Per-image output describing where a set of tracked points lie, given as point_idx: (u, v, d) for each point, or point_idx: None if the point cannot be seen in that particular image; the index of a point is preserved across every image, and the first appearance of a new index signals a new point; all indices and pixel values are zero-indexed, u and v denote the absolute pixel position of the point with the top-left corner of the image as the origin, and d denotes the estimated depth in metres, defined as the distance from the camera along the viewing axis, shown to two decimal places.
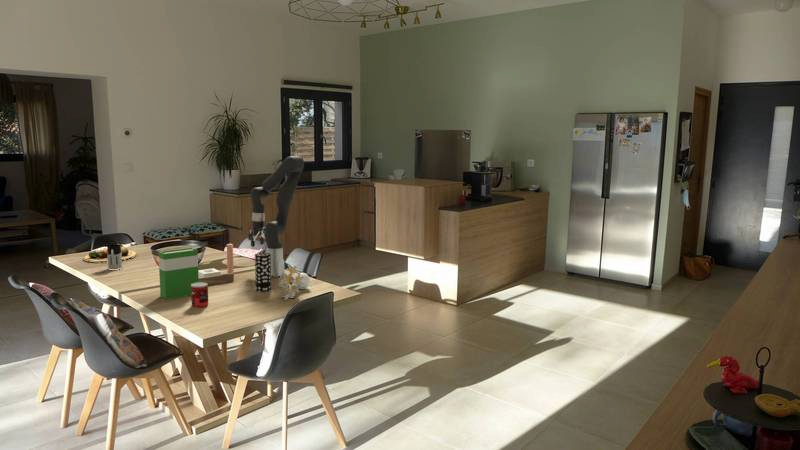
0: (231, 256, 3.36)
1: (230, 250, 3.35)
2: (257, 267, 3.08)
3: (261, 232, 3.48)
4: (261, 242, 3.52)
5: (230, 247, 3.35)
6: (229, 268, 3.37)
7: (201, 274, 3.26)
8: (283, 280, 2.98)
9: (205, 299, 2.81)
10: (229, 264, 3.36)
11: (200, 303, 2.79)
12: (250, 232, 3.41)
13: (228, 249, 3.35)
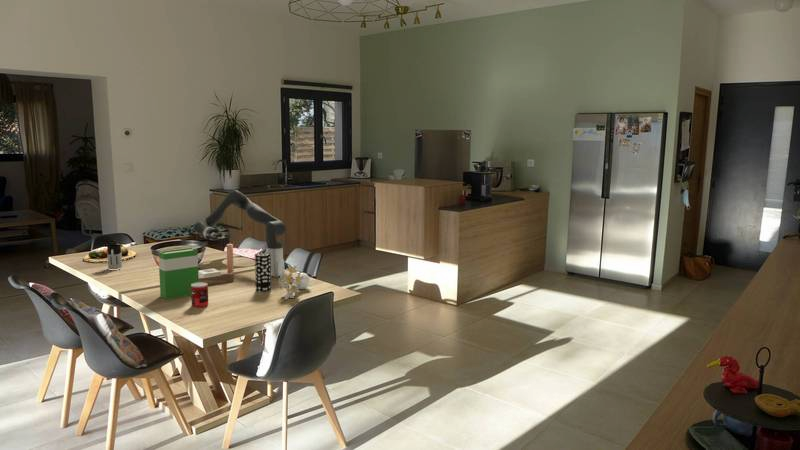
0: (231, 256, 3.36)
1: (230, 250, 3.35)
2: (257, 267, 3.08)
3: (218, 232, 3.51)
4: (227, 236, 3.48)
5: (230, 247, 3.35)
6: (229, 268, 3.37)
7: (201, 274, 3.26)
8: (283, 280, 2.98)
9: (205, 299, 2.81)
10: (229, 264, 3.36)
11: (200, 303, 2.79)
12: (205, 236, 3.47)
13: (228, 249, 3.35)
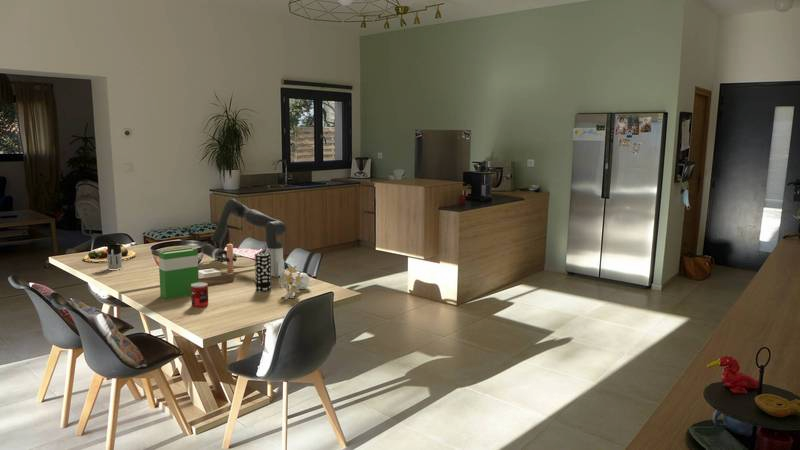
0: (231, 256, 3.36)
1: (230, 250, 3.35)
2: (257, 267, 3.08)
3: (226, 254, 3.43)
4: (234, 259, 3.37)
5: (230, 247, 3.35)
6: (229, 268, 3.37)
7: (201, 274, 3.26)
8: (283, 280, 2.98)
9: (205, 299, 2.81)
10: (229, 264, 3.36)
11: (200, 303, 2.79)
12: (215, 258, 3.38)
13: (228, 249, 3.35)
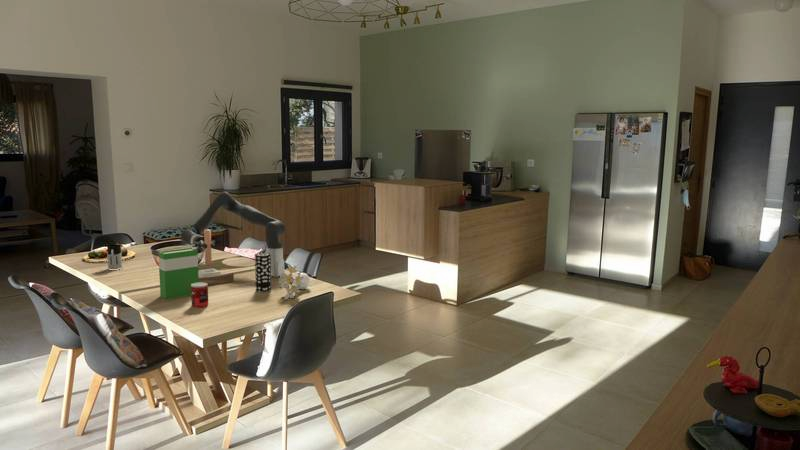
0: (209, 242, 3.26)
1: (208, 236, 3.25)
2: (257, 267, 3.08)
3: None
4: (211, 245, 3.28)
5: (208, 233, 3.25)
6: (207, 254, 3.27)
7: (201, 274, 3.26)
8: (283, 280, 2.98)
9: (205, 299, 2.81)
10: (207, 250, 3.27)
11: (200, 303, 2.79)
12: (193, 244, 3.28)
13: (206, 235, 3.25)
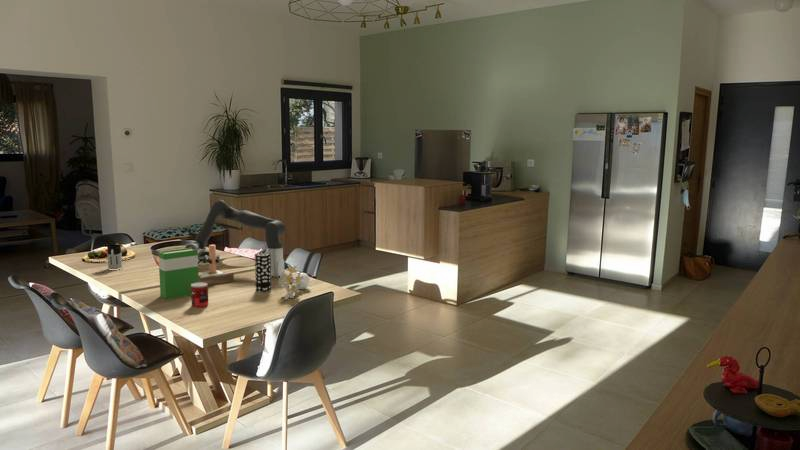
0: (213, 257, 3.23)
1: (212, 251, 3.22)
2: (257, 267, 3.08)
3: None
4: (216, 260, 3.24)
5: (212, 248, 3.22)
6: (211, 270, 3.24)
7: (204, 276, 3.22)
8: (283, 280, 2.98)
9: (205, 299, 2.81)
10: (211, 266, 3.23)
11: (200, 303, 2.79)
12: (198, 260, 3.25)
13: (210, 250, 3.22)
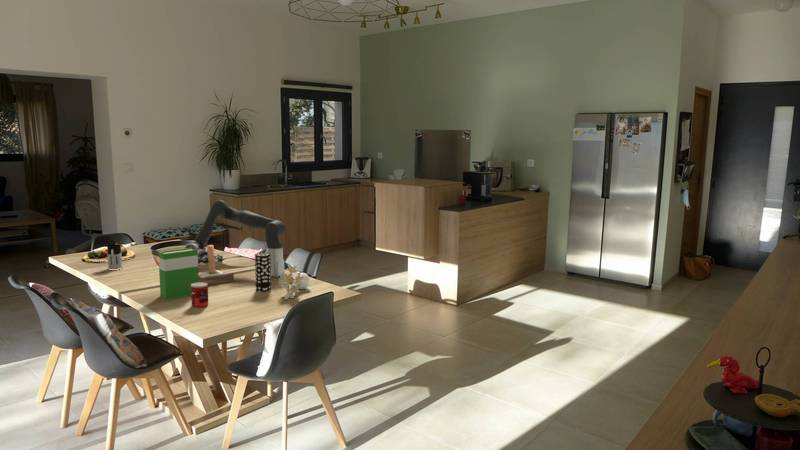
0: (212, 258, 3.23)
1: (211, 252, 3.22)
2: (257, 267, 3.08)
3: None
4: (219, 260, 3.26)
5: (211, 248, 3.22)
6: (211, 270, 3.24)
7: (204, 276, 3.22)
8: (283, 280, 2.98)
9: (205, 299, 2.81)
10: (210, 266, 3.23)
11: (200, 303, 2.79)
12: None
13: (209, 251, 3.22)
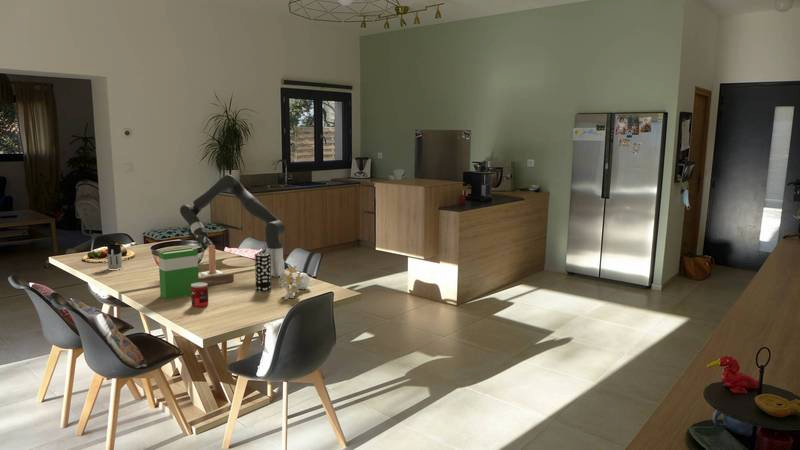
0: (213, 258, 3.23)
1: (212, 251, 3.22)
2: (257, 267, 3.08)
3: (207, 239, 3.42)
4: None
5: (212, 248, 3.22)
6: (211, 270, 3.24)
7: (204, 276, 3.22)
8: (283, 280, 2.98)
9: (205, 299, 2.81)
10: (211, 266, 3.24)
11: (200, 303, 2.79)
12: (197, 236, 3.35)
13: (210, 250, 3.22)
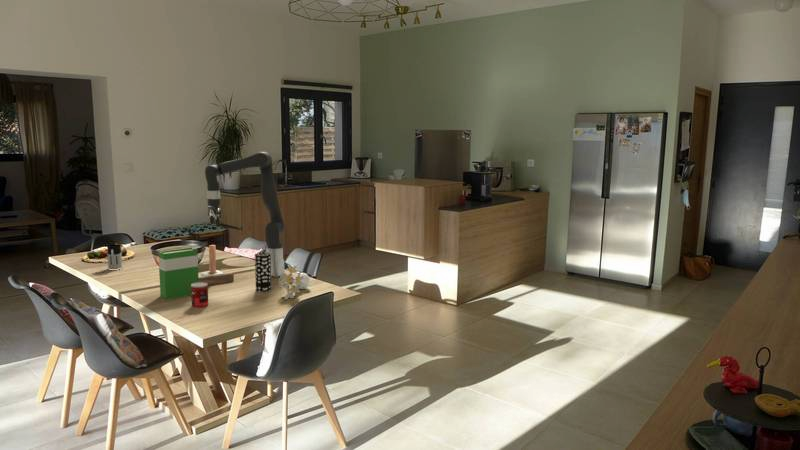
0: (213, 258, 3.24)
1: (212, 251, 3.23)
2: (257, 267, 3.08)
3: None
4: (212, 221, 3.49)
5: (212, 248, 3.23)
6: (211, 270, 3.24)
7: (204, 276, 3.22)
8: (283, 280, 2.98)
9: (205, 299, 2.81)
10: (211, 266, 3.24)
11: (200, 303, 2.79)
12: (218, 210, 3.39)
13: (210, 250, 3.23)
